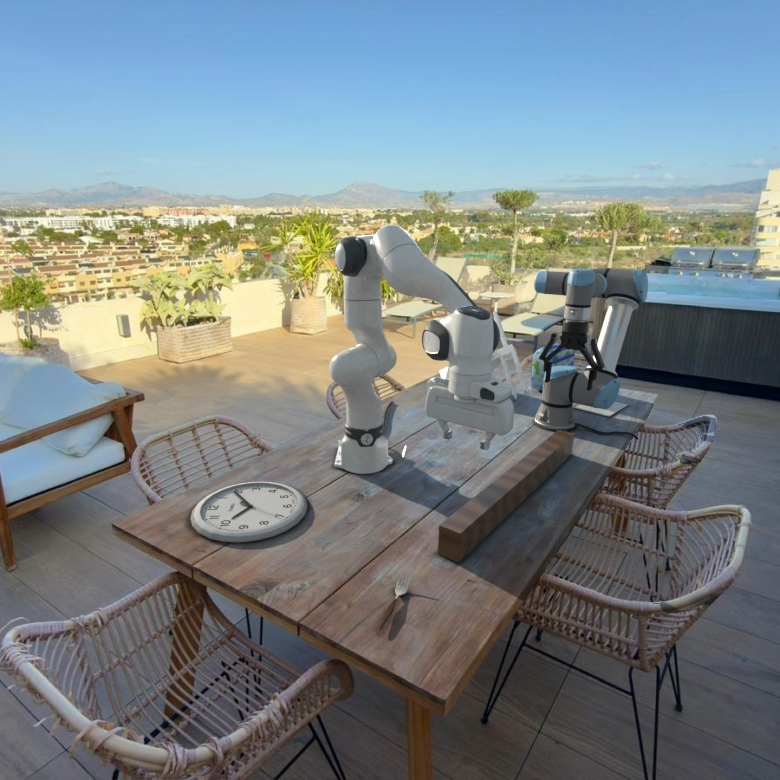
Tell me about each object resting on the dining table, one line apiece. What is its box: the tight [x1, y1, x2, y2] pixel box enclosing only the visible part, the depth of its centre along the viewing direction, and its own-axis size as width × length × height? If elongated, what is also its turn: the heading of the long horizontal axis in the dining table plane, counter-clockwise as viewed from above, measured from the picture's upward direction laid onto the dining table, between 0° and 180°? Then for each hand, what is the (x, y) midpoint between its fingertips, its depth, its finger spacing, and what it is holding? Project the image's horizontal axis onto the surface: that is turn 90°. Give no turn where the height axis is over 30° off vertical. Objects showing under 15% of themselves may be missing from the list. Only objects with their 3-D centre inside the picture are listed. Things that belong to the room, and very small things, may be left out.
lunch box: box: [530, 343, 576, 391], centre depth 249 cm, size 26×11×21 cm, turn 134°
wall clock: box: [190, 481, 308, 544], centre depth 139 cm, size 30×2×30 cm
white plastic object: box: [438, 310, 531, 400], centre depth 245 cm, size 37×45×31 cm
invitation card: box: [573, 401, 629, 418], centre depth 226 cm, size 21×1×15 cm
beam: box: [437, 430, 575, 563], centre depth 149 cm, size 77×6×8 cm, turn 143°
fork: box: [379, 571, 412, 631], centre depth 105 cm, size 3×16×2 cm, turn 160°
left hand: (465, 443), depth 116 cm, fingers open, 8 cm apart
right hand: (567, 385), depth 169 cm, fingers open, 13 cm apart
